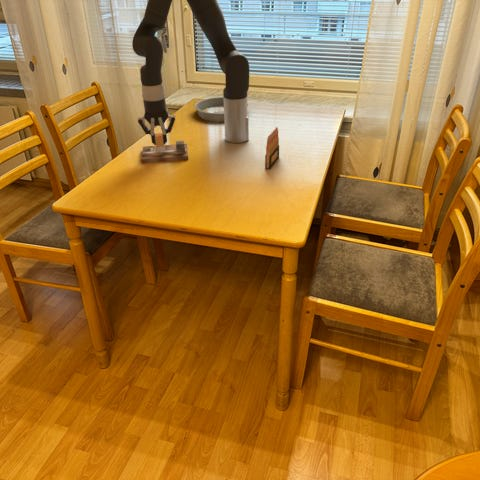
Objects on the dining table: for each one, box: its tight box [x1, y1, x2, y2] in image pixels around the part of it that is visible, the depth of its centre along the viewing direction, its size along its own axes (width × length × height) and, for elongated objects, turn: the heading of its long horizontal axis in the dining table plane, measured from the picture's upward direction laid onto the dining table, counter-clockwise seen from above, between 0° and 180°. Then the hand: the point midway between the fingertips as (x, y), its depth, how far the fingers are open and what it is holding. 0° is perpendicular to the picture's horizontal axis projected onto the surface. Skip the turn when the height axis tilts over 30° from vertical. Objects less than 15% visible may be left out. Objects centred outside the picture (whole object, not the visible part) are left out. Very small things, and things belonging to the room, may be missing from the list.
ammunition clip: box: [264, 127, 280, 170], centre depth 162 cm, size 11×2×12 cm, turn 158°
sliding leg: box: [154, 133, 166, 153], centre depth 169 cm, size 3×7×7 cm, turn 7°
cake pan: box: [194, 96, 249, 123], centre depth 210 cm, size 25×25×4 cm
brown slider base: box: [141, 140, 189, 164], centre depth 171 cm, size 17×12×6 cm
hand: (159, 143), depth 168 cm, fingers closed on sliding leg, 3 cm apart
